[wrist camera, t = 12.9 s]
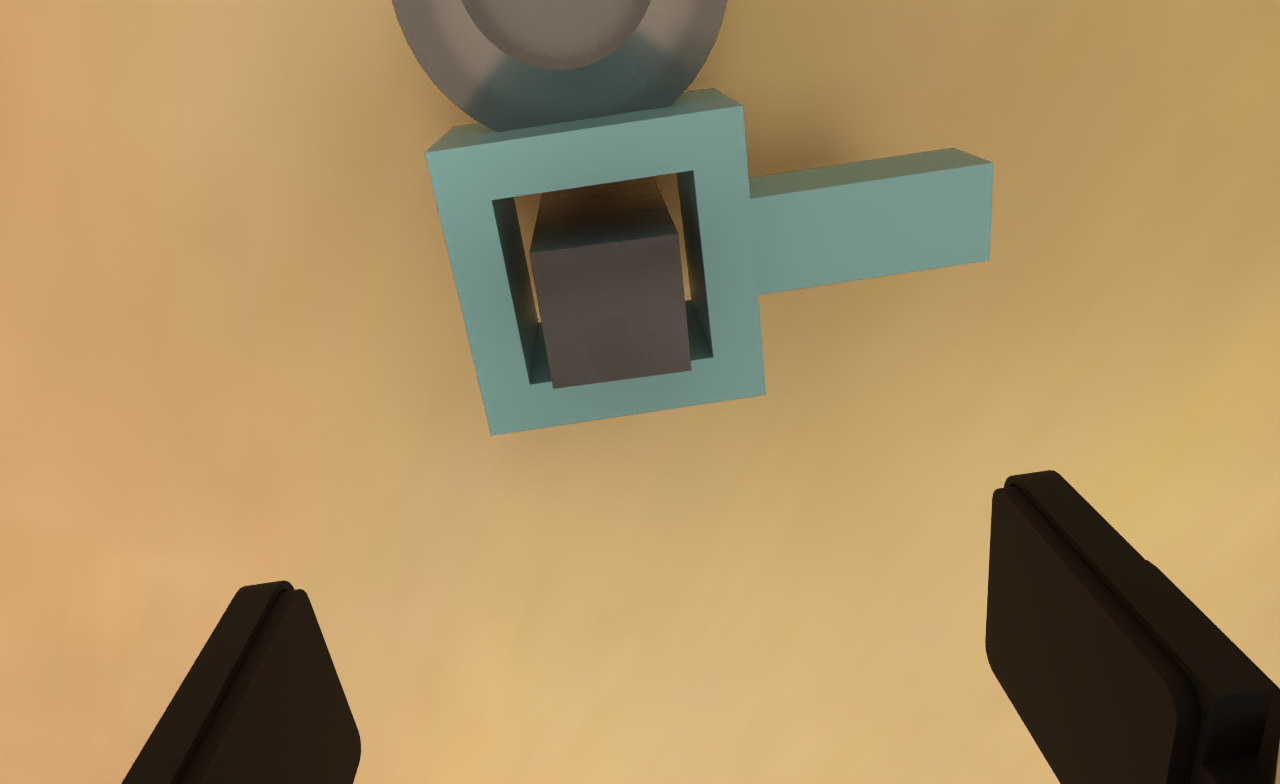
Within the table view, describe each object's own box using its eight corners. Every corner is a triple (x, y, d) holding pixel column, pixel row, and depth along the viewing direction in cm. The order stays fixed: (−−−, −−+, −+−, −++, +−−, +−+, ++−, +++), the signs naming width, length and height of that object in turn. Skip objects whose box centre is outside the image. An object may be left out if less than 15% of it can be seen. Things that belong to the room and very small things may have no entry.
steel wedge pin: (637, 140, 39) (678, 233, 23) (646, 225, 41) (691, 370, 24) (550, 151, 39) (529, 253, 23) (564, 236, 41) (553, 388, 24)
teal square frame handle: (938, 54, 30) (1019, 64, 24) (935, 302, 34) (1004, 358, 28) (453, 126, 30) (424, 152, 24) (505, 366, 33) (490, 435, 28)
